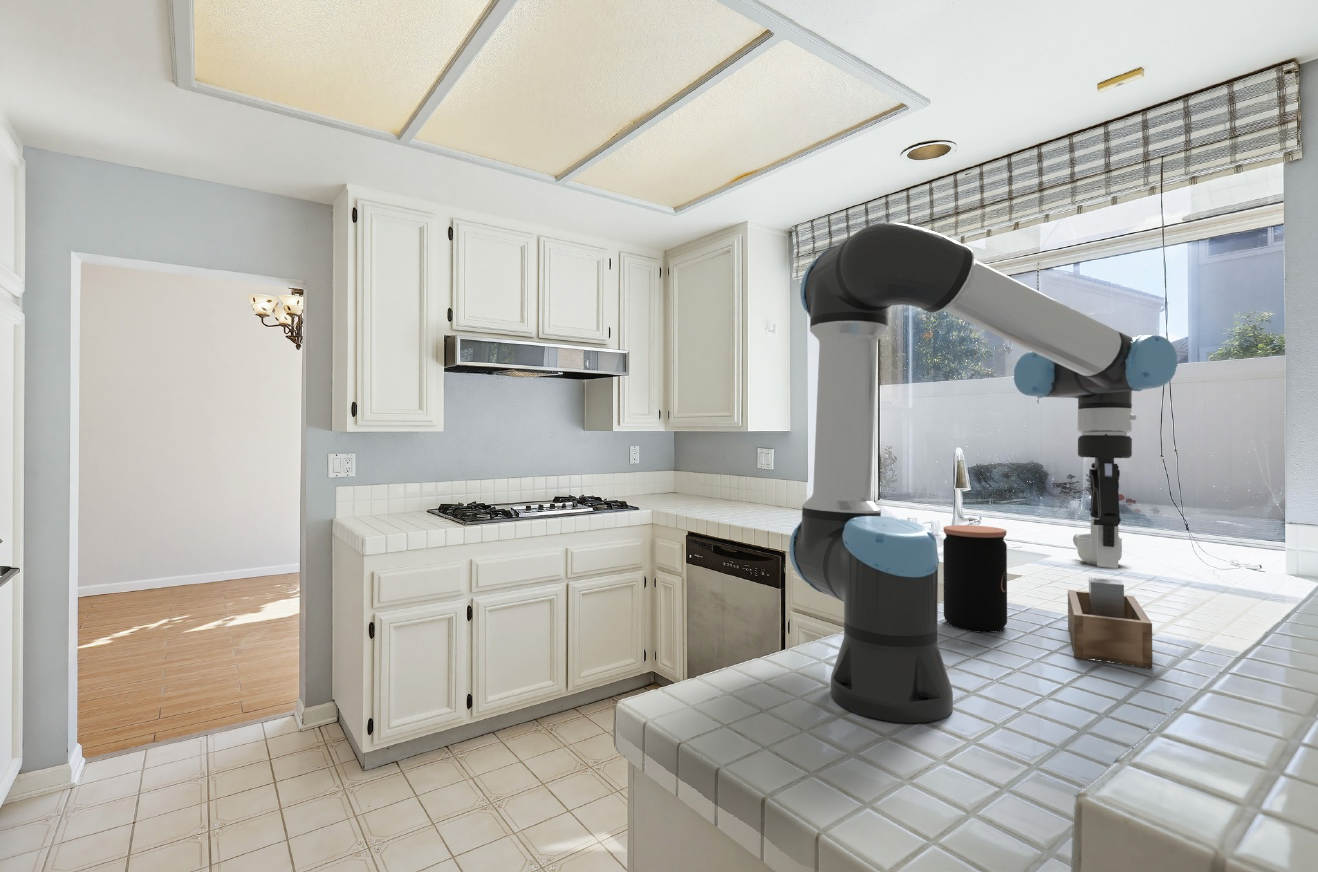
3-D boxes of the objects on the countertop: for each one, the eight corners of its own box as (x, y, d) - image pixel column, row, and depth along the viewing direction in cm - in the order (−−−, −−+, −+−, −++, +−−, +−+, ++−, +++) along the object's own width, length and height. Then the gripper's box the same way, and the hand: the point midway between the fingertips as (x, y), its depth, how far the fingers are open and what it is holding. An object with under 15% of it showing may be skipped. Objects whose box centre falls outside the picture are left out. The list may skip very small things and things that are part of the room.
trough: (1074, 657, 102) (1074, 614, 103) (1067, 626, 120) (1067, 589, 120) (1152, 668, 98) (1152, 623, 98) (1133, 634, 115) (1133, 595, 115)
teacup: (1131, 567, 179) (1131, 538, 179) (1091, 567, 179) (1091, 538, 179) (1098, 558, 193) (1098, 531, 193) (1061, 558, 193) (1061, 531, 193)
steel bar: (1091, 642, 108) (1090, 582, 108) (1089, 635, 112) (1088, 577, 112) (1124, 646, 106) (1123, 584, 106) (1121, 639, 110) (1120, 579, 110)
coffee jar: (1015, 635, 115) (1015, 533, 115) (951, 631, 117) (950, 531, 117) (996, 619, 125) (996, 525, 125) (938, 616, 127) (937, 524, 128)
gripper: (1142, 432, 97) (1142, 575, 96) (1122, 436, 118) (1121, 553, 118) (1082, 432, 100) (1081, 569, 100) (1073, 436, 122) (1072, 549, 122)
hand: (1103, 561), depth 109 cm, fingers open, 13 cm apart
